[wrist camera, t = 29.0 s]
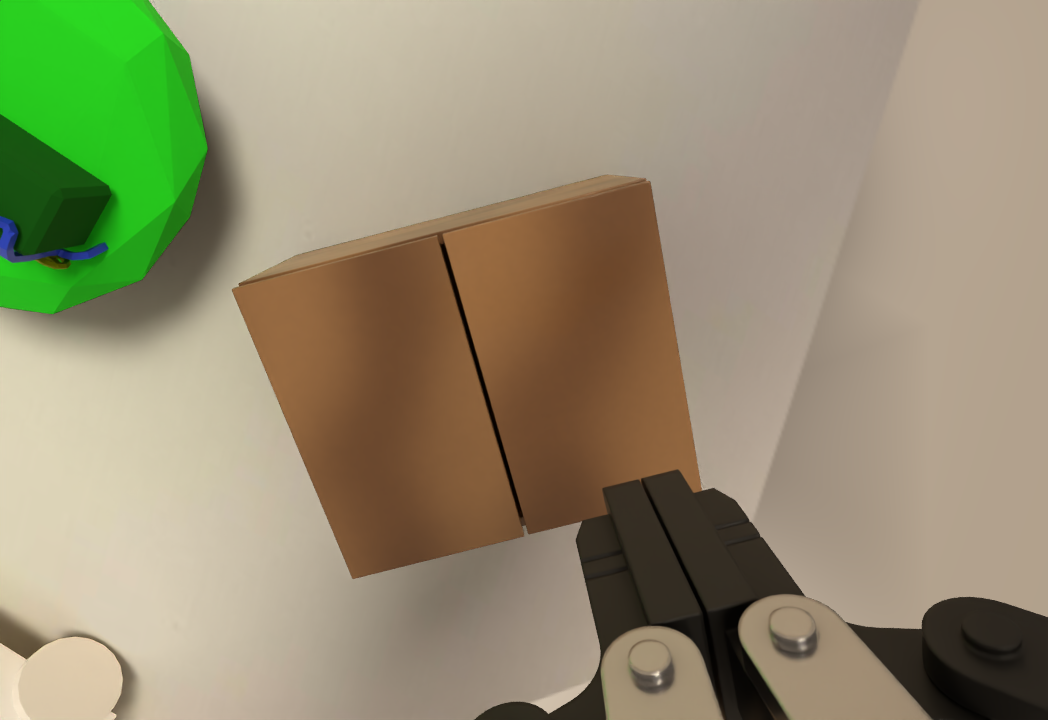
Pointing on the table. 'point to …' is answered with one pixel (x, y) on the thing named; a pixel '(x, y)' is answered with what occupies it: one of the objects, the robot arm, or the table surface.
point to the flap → (577, 349)
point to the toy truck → (60, 682)
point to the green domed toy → (91, 148)
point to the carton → (392, 388)
